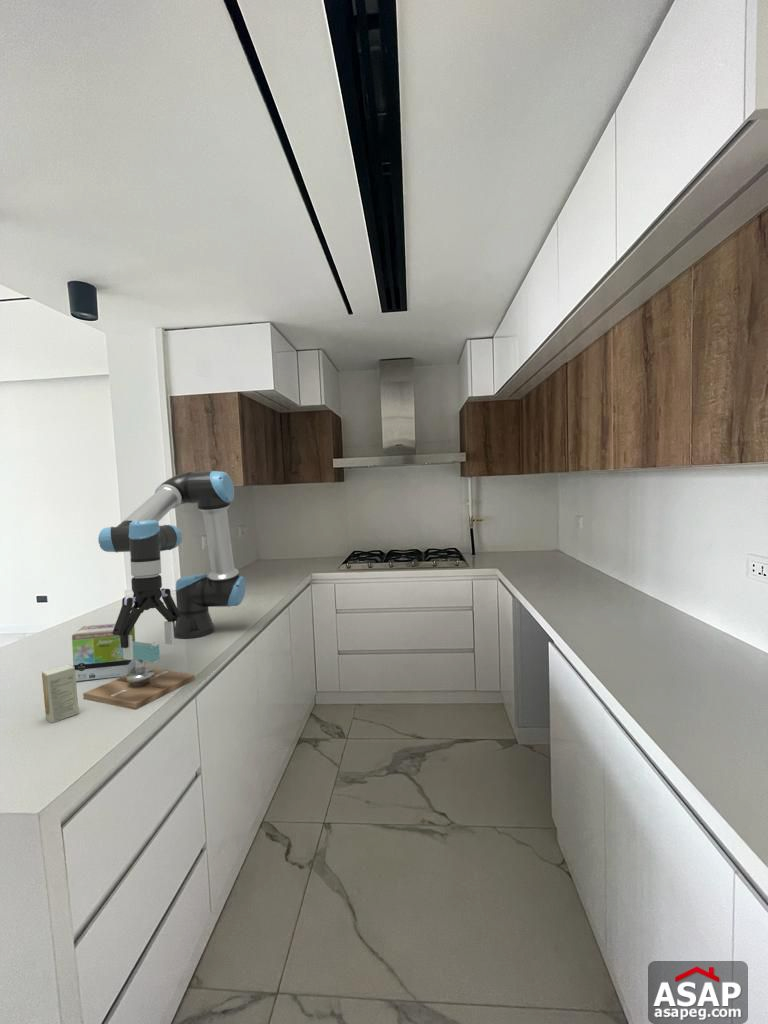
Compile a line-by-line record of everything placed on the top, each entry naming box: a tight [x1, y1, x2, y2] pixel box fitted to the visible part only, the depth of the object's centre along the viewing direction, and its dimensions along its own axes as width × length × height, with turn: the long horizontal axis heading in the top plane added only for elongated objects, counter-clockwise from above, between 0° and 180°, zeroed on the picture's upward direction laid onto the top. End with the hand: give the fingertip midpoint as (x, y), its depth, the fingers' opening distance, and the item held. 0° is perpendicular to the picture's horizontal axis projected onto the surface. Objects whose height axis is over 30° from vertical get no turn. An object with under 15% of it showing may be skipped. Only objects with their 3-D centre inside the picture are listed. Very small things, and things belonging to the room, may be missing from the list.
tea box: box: [71, 623, 136, 683], centre depth 145 cm, size 15×10×15 cm, turn 105°
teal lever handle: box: [119, 641, 161, 682], centre depth 133 cm, size 7×13×10 cm, turn 67°
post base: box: [82, 666, 196, 710], centre depth 133 cm, size 20×20×3 cm
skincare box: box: [41, 663, 80, 724], centre depth 117 cm, size 6×4×12 cm
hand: (150, 651), depth 130 cm, fingers open, 13 cm apart
